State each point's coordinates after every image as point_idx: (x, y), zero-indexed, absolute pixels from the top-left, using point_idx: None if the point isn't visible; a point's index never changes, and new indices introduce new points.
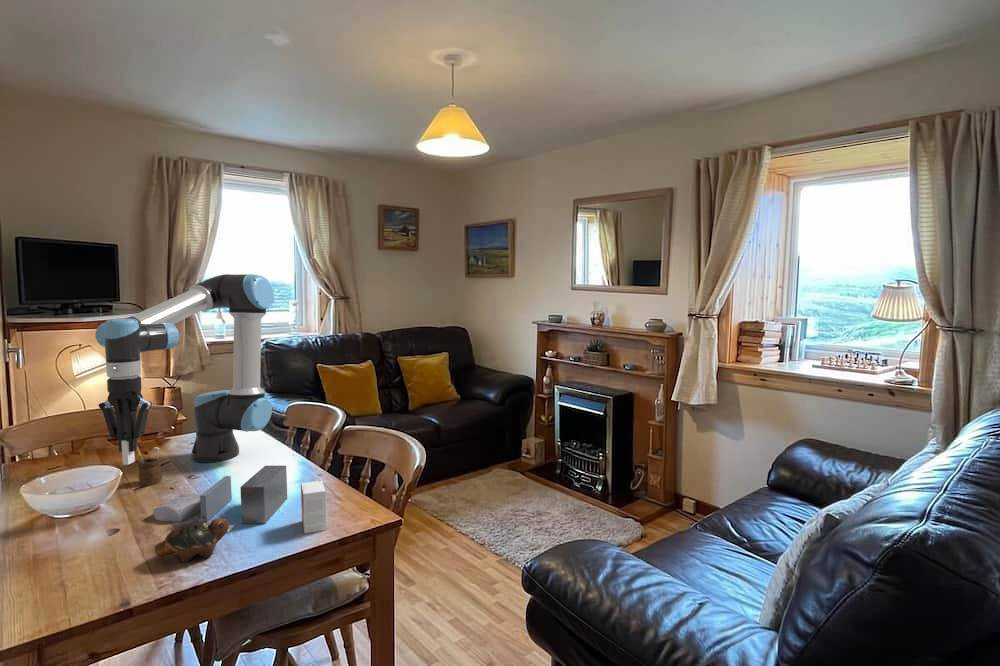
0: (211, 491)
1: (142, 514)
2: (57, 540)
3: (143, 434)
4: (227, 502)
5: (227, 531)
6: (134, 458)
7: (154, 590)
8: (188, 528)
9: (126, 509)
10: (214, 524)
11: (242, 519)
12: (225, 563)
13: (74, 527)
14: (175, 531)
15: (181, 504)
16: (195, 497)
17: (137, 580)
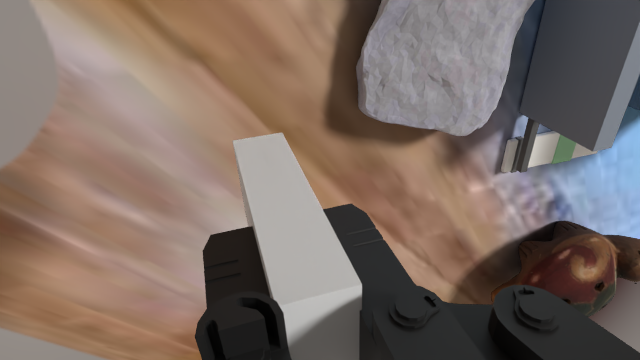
0: (626, 103)
1: (289, 80)
2: (159, 283)
3: (548, 299)
4: None
5: (591, 152)
6: (287, 144)
7: None
8: (591, 314)
9: (174, 39)
10: (636, 281)
11: (635, 107)
12: None
13: (116, 214)
14: None
15: (483, 111)
16: (500, 9)
17: None
